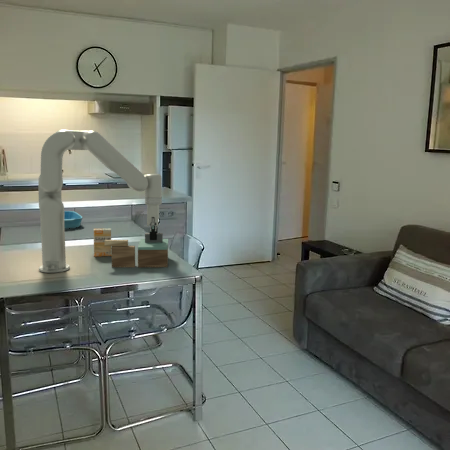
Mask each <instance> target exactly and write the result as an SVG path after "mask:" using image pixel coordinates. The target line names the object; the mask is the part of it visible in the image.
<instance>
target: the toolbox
mask: <svg viewBox="0 0 450 450" xmlns="http://www.w3.org/2000/svg"><path fill="white" fill-rule="evenodd" d="M168 262H169V249H168V250H138V249H137V268H168V264H169V263H168ZM135 267H136V245H128V246H111V268H135Z"/></svg>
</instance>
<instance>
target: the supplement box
mask: <svg viewBox="0 0 450 450" xmlns="http://www.w3.org/2000/svg"><path fill="white" fill-rule="evenodd" d="M105 240H112V228H93V255H94V256H93V257H95V258H96V257H112V254H111V247H112V246H105V242H104V241H105Z"/></svg>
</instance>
